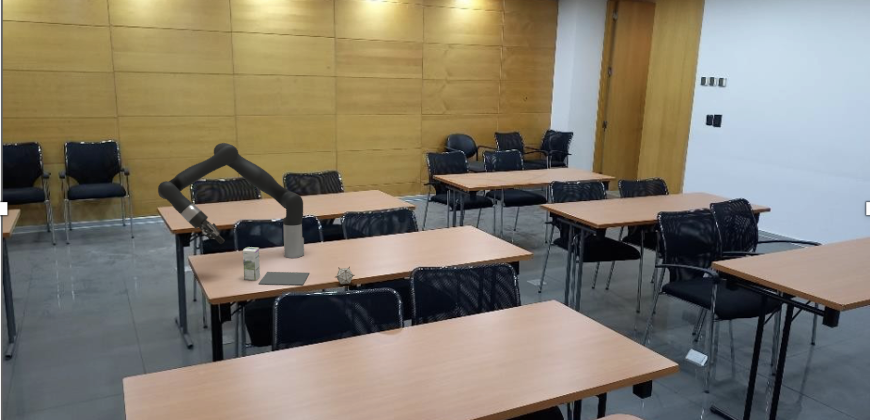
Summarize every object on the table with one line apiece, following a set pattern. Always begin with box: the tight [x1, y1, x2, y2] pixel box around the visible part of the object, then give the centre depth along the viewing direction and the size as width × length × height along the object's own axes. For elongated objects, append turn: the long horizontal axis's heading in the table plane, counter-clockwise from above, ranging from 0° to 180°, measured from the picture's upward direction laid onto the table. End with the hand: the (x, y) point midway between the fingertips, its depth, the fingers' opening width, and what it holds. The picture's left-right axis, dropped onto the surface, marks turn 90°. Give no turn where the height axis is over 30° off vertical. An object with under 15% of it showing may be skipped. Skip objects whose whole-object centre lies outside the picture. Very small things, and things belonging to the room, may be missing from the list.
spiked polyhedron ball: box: [334, 266, 356, 287], centre depth 284 cm, size 9×8×10 cm
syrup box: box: [242, 246, 261, 281], centre depth 287 cm, size 6×6×14 cm
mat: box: [258, 271, 310, 287], centre depth 289 cm, size 20×16×1 cm
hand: (223, 242), depth 285 cm, fingers closed
